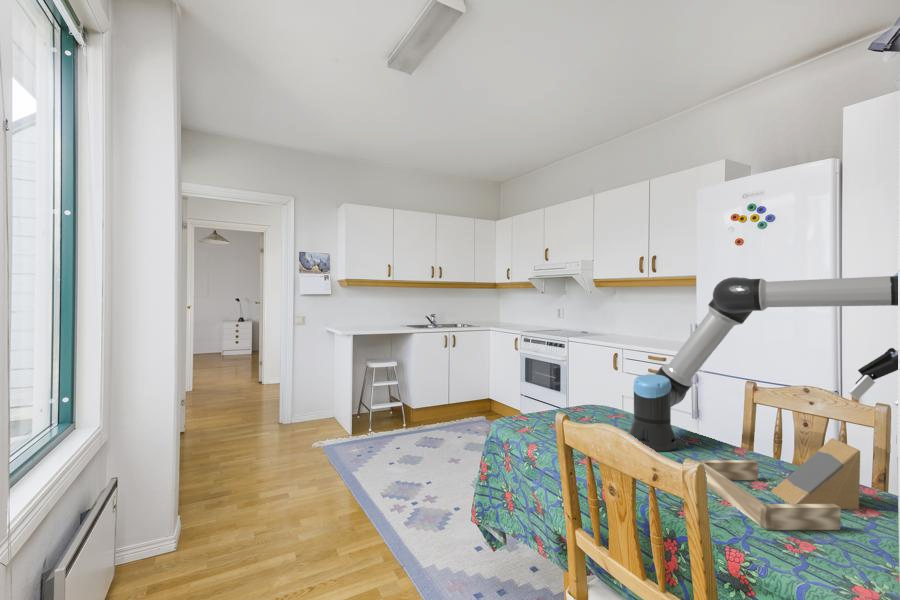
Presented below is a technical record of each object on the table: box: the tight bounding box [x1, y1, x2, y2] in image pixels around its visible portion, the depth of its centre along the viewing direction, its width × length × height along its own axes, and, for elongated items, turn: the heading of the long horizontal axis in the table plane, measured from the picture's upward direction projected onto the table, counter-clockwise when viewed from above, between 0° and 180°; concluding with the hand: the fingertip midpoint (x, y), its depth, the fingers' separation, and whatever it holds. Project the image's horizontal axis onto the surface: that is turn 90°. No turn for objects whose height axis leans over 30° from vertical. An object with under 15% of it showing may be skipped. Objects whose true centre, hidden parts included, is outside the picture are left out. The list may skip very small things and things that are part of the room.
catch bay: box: [695, 459, 842, 531], centre depth 105 cm, size 17×26×5 cm, turn 0°
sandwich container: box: [770, 437, 861, 510], centre depth 105 cm, size 9×15×15 cm, turn 84°
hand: (875, 401), depth 105 cm, fingers open, 11 cm apart
